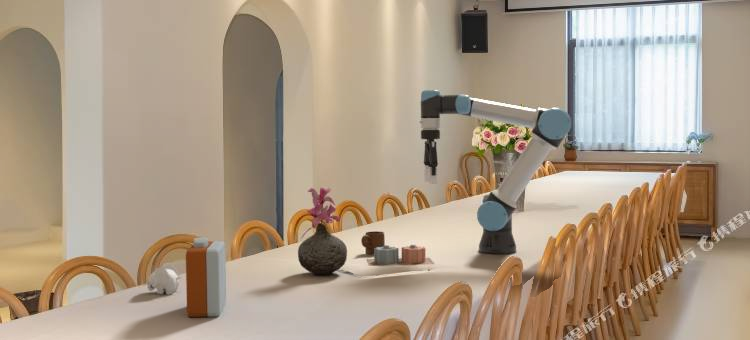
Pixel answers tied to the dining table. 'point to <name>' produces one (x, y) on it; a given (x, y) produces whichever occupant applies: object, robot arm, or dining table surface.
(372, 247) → the mug
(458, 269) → the dining table surface
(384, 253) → the gear
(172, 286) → the elephant figurine
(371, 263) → the gear board
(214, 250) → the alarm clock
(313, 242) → the vase
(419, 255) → the gear
